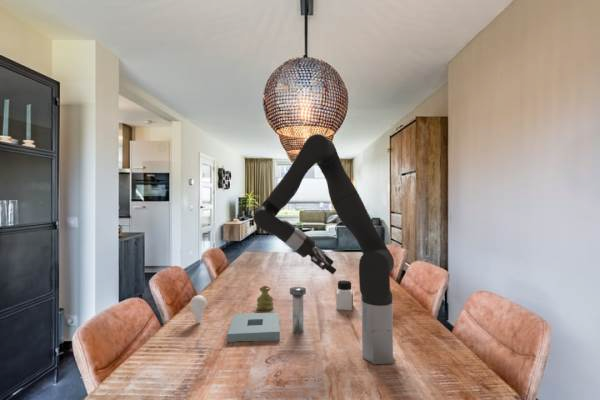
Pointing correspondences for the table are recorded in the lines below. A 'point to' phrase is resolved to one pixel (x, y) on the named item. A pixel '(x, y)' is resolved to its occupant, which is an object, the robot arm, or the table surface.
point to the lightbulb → (198, 307)
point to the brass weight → (264, 299)
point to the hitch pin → (297, 308)
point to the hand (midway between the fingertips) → (333, 267)
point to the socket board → (254, 327)
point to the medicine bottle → (344, 296)
